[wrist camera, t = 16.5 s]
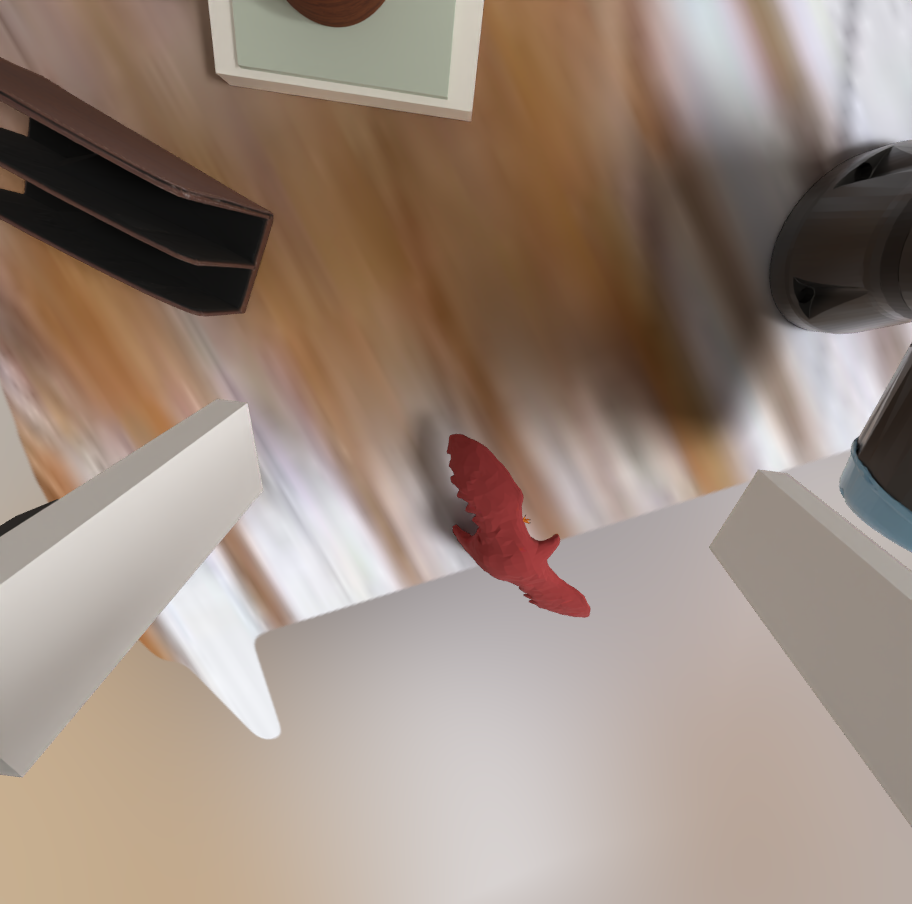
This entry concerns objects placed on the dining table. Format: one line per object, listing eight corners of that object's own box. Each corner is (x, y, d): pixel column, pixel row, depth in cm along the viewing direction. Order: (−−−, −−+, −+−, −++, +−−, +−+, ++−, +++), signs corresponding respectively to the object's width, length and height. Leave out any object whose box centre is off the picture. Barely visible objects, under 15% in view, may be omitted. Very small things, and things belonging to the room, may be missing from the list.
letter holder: (45, 77, 31) (-249, -68, 18) (277, 215, 35) (170, 176, 22) (35, 202, 35) (-216, 155, 22) (246, 314, 38) (139, 330, 26)
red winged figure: (531, 571, 57) (623, 603, 45) (495, 622, 53) (586, 671, 41) (433, 421, 47) (517, 409, 35) (379, 468, 43) (453, 472, 31)
